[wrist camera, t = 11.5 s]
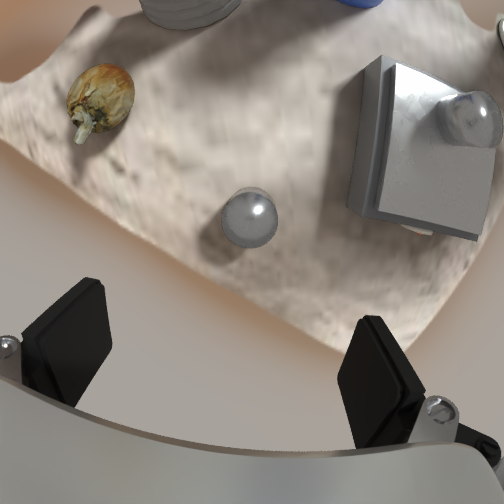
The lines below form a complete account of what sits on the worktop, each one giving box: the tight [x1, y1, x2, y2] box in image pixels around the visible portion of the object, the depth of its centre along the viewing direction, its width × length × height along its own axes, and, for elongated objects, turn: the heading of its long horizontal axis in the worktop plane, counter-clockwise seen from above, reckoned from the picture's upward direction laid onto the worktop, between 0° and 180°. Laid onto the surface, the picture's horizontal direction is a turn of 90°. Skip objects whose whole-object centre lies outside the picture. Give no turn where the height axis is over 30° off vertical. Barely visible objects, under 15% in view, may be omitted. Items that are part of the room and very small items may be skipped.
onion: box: [67, 63, 135, 145], centre depth 22 cm, size 8×8×8 cm
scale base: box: [346, 55, 479, 242], centre depth 24 cm, size 16×17×5 cm
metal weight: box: [435, 91, 503, 148], centre depth 17 cm, size 5×5×5 cm
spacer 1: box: [221, 187, 278, 248], centre depth 27 cm, size 5×5×5 cm
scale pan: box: [373, 63, 496, 235], centre depth 21 cm, size 14×14×1 cm
